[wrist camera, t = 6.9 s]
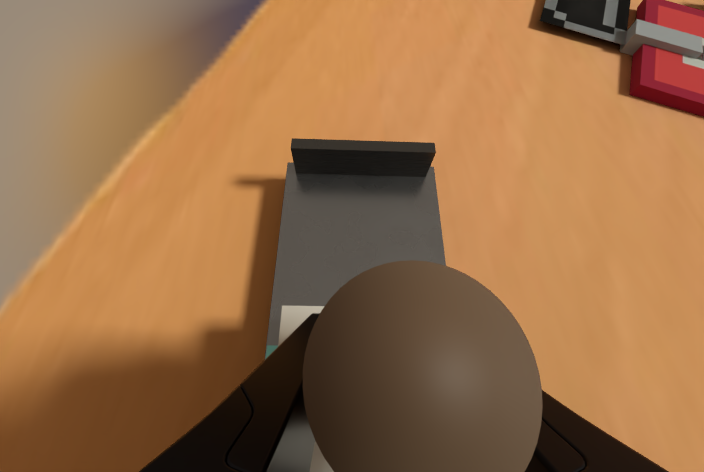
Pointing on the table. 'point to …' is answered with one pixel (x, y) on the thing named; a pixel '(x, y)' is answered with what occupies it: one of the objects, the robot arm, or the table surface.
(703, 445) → the table surface
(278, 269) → the rail
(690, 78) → the red board with handle
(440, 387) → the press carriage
